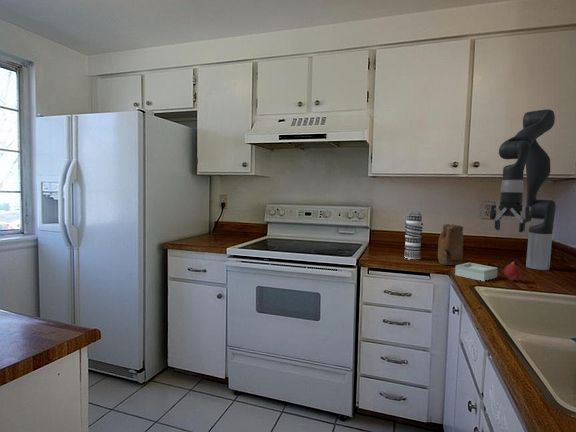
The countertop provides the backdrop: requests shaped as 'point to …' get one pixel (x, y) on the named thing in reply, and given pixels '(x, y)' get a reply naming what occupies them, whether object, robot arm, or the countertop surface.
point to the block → (450, 245)
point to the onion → (512, 271)
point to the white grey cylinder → (413, 235)
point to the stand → (476, 271)
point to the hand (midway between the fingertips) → (509, 231)
